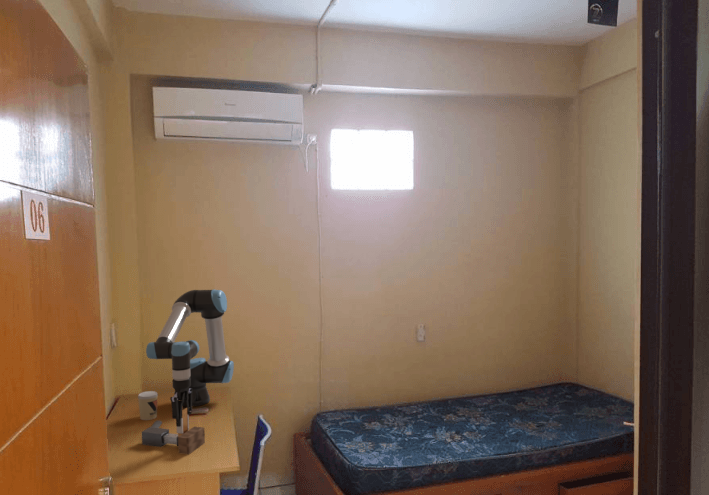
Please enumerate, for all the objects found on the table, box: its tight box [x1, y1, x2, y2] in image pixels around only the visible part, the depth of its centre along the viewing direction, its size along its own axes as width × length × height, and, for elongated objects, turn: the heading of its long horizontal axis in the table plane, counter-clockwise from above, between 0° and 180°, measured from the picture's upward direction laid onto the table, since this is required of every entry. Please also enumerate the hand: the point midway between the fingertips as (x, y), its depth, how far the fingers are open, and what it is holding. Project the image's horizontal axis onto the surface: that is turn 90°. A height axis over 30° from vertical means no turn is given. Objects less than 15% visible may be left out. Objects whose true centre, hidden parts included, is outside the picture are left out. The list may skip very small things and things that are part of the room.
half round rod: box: [150, 419, 163, 428], centre depth 252 cm, size 4×20×2 cm, turn 5°
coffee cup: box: [137, 390, 159, 421], centre depth 269 cm, size 9×9×12 cm
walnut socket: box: [177, 426, 206, 456], centre depth 232 cm, size 12×5×7 cm, turn 163°
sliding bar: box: [162, 406, 188, 448], centre depth 234 cm, size 4×20×16 cm, turn 73°
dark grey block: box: [141, 426, 170, 448], centre depth 237 cm, size 6×10×6 cm, turn 73°
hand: (182, 430), depth 233 cm, fingers closed on sliding bar, 4 cm apart
